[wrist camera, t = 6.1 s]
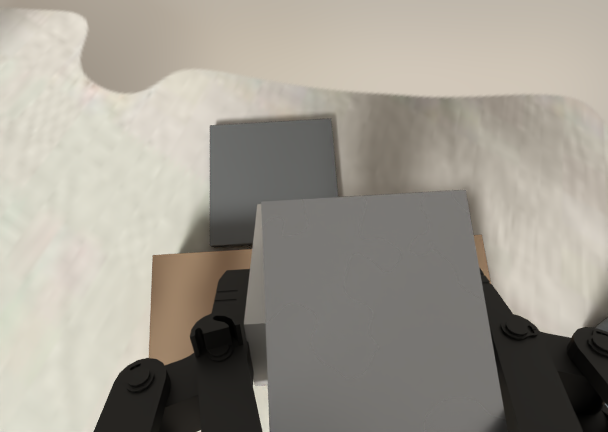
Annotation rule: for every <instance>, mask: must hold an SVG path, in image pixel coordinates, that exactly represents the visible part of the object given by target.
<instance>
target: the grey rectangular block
mask: <svg viewBox="0 0 608 432" xmlns="http://www.w3.org/2000/svg"><path fill="white" fill-rule="evenodd" d="M261 213H262V239H263V266H264V293H265V320H266V347H267V374H268V400H269V427H270V432H508V430H507V424H506V418H505V413H504V407H503V401H502V396H501V390H500V384H499V378H498V373H497V367H496V361H495V355H494V350H493V344H492V338H491V332H490V327H489V321H488V315H487V309H486V304H485V298H484V292H483V286H482V281H481V275H480V269H479V264H478V258H477V252H476V246H475V241H474V235H473V229H472V223H471V218H470V212H469V206H468V200H467V195H466V190H454V191H437V192H419V193H402V194H385V195H367V196H350V197H333V198H316V199H298V200H281V201H264V202H261Z"/></svg>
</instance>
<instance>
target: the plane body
mask: <svg viewBox="0 0 608 432" xmlns="http://www.w3.org/2000/svg"><path fill="white" fill-rule="evenodd" d="M474 241H475V246H476V252H477V258H478V264H479V267H480V269H481V270H482V272H483V273H484V275H485V276H486V277H487V278H488V280H489V281H490V277H489V271H488V266H487V260H486V255H485V250H484V244H483V239H482V235H474ZM251 256H252V249H245V250H229V251H213V252H197V253H181V254H165V255H153V262H152V288H151V314H150V340H149V358H153V359H158V360H159V361H161V362H163V364H164V365H167V364H170V363H173V362H176V361H179V360H181V359H184V358H186V357H188V356H190V355H191V354H193V353H194V350H193V347H192V343H191V340H190V333H191V329H192V328H193V326H194V325H195V323H196V322H197V321H199V320H200V319H201V318H203V317H204V316H206V315H209V314H211V313H212V308H213V304H214V299H215V295H216V290H217V285H218V281H219V279H220V278H221V277H222V275H223V274H224V273H225V272H226V270H239V269H250V265H251ZM490 284H491V282H490Z"/></svg>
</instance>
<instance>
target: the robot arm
mask: <svg viewBox="0 0 608 432" xmlns="http://www.w3.org/2000/svg"><path fill="white" fill-rule="evenodd" d="M479 269H480V267H479ZM480 275H481V281H482V286H483V292H484V298H485V304H486V309H487V315H488V321H489V327H490V332H491V338H492V344H493V350H494V355H495V361H496V367H497V373H498V378H499V384H500V390H501V396H502V401H503V407H504V413H505V418H506V424H507V430H508V432H608V407H607V406H608V332H606V331H603V330H600V329H597V328H590V327H584V328H580V329H577V331H576V332H575V333H574V334H573V336H572V338H569V337H563V336H558V335H553V334H547V333H543V332H540V331H539V330H538V329H537V327H536V326H535V325H534V324H532V323H531V322H530V321H529V320H527V319H525V318H523V317H521V316H518V315H514V314H513V313H512V312H511V310H510V309H509V308H508V306H507V305H506V303H505V302H504V301H503V299H502V298H501V297H500V295H499V294H498V292H497V291H496V290H495V288H494V287H493V285H492V284H490V281H489V280H488V278H487V277H486V276H485V275H484V273H483V272H482V270H481V269H480ZM190 340H191V343H192V347H193V350H194V353H193V354H191V355H190V356H188V357H186V358H184V359H181V360H179V361H176V362H173V363H170V364H167V365H164V364H163V362H161V361H159V360H158V359H153V358H145V359H141V360H137V361H136V362H134V363H132V364H130V365H128V366H127V367H126V368H125V369H124V370H123V371H121V372H120V373H119V375H118V377H117V378H116V380H115V381H114V384H113V386H112V389H111V391H110V393H109V396H108V398H107V401H106V403H105V406H104V408H103V410H102V413H101V415H100V418H99V420H98V422H97V425H96V427H95V430H94V432H197V431H199V430H201V432H262V428H261V423H260V418H259V414H258V409H257V404H256V400H255V395H254V390H253V380H254V385H255V386H263V385H268V374H267V347H266V320H265V293H264V266H263V239H262V213H261V204H257V212H256V221H255V230H254V239H253V248H252V256H251V265H250V269H239V270H226V272H225V273H224V274H223V275H222V277H221V278H220V279H219V281H218V285H217V290H216V295H215V299H214V304H213V308H212V313H211V314H209V315H206V316H204V317H203V318H201V319H200V320H199V321H197V322H196V323H195V325H194V326H193V328H192V329H191V333H190ZM605 403H606V405H607V406H606V405H605Z"/></svg>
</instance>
